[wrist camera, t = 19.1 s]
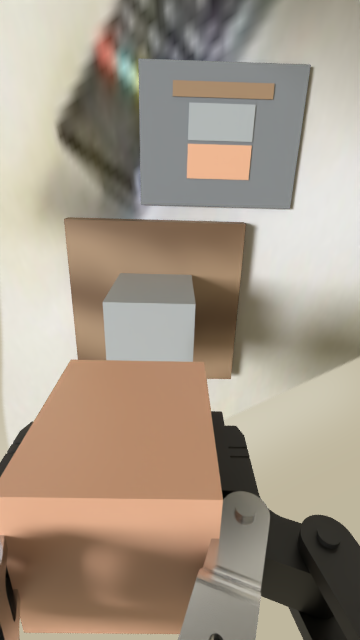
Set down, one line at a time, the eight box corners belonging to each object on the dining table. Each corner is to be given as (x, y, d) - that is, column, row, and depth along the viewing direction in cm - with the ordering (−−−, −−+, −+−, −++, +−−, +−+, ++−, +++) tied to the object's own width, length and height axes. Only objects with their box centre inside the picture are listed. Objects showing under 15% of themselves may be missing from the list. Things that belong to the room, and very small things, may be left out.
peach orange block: (70, 359, 13) (-12, 496, 7) (204, 361, 13) (223, 500, 7) (82, 461, 15) (24, 632, 9) (198, 463, 15) (209, 634, 9)
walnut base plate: (68, 217, 23) (64, 219, 23) (243, 222, 24) (245, 224, 23) (82, 369, 28) (79, 376, 27) (228, 372, 28) (230, 378, 27)
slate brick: (120, 273, 24) (102, 302, 18) (191, 274, 24) (195, 304, 18) (122, 337, 26) (107, 381, 20) (188, 339, 26) (191, 383, 20)
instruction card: (139, 60, 20) (138, 58, 20) (308, 66, 20) (311, 64, 20) (141, 204, 23) (140, 204, 23) (288, 208, 23) (290, 208, 23)
